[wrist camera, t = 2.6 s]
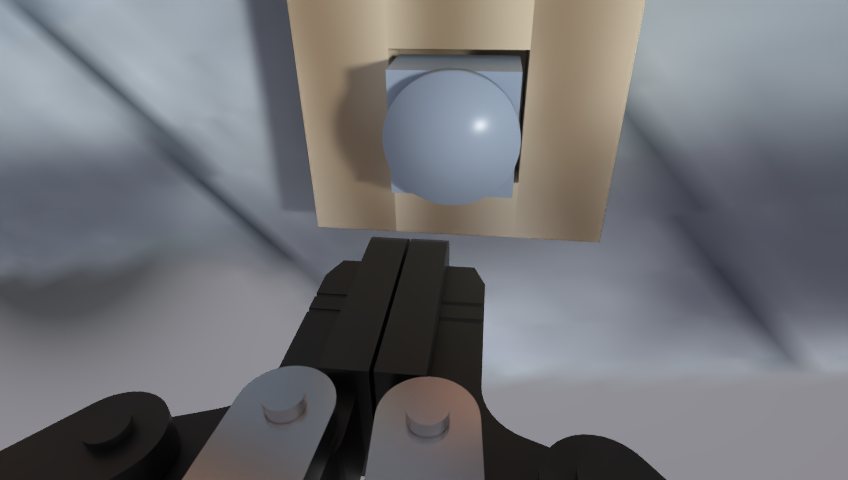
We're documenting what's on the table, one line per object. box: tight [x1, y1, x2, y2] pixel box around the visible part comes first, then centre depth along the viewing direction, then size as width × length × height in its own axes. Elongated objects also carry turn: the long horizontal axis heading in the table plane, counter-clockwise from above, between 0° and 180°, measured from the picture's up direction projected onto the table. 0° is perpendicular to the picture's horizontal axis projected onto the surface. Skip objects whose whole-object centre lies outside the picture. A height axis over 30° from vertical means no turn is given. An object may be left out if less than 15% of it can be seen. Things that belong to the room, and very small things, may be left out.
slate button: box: [382, 54, 523, 205], centre depth 18 cm, size 5×5×3 cm
